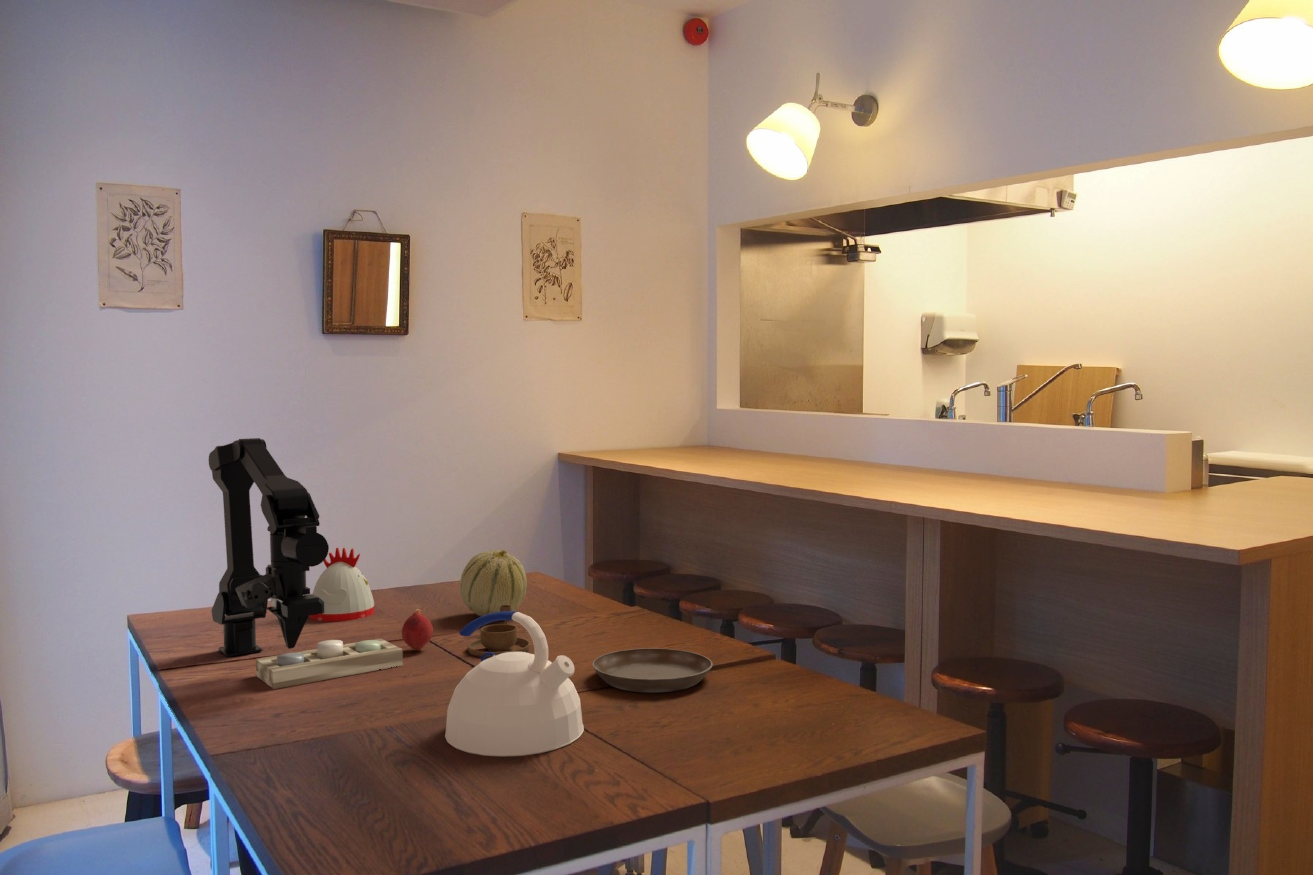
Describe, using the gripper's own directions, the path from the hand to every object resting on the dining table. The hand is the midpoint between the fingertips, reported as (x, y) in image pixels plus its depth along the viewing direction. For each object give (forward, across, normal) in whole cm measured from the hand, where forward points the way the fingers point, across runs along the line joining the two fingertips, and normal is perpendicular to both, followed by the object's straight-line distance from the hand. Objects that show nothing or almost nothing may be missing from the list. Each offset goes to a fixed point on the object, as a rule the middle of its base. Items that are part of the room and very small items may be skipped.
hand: (290, 647), depth 179 cm
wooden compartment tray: (+5, 0, +7) cm, 9 cm away
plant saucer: (+6, +40, +49) cm, 63 cm away
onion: (+6, -3, +25) cm, 26 cm away
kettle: (+6, +49, +17) cm, 52 cm away
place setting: (+6, +4, +41) cm, 42 cm away
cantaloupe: (+6, -19, +50) cm, 54 cm away
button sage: (+4, 0, +14) cm, 14 cm away
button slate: (+4, 0, 0) cm, 4 cm away
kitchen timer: (+6, -43, +25) cm, 50 cm away
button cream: (+3, 0, +7) cm, 8 cm away
